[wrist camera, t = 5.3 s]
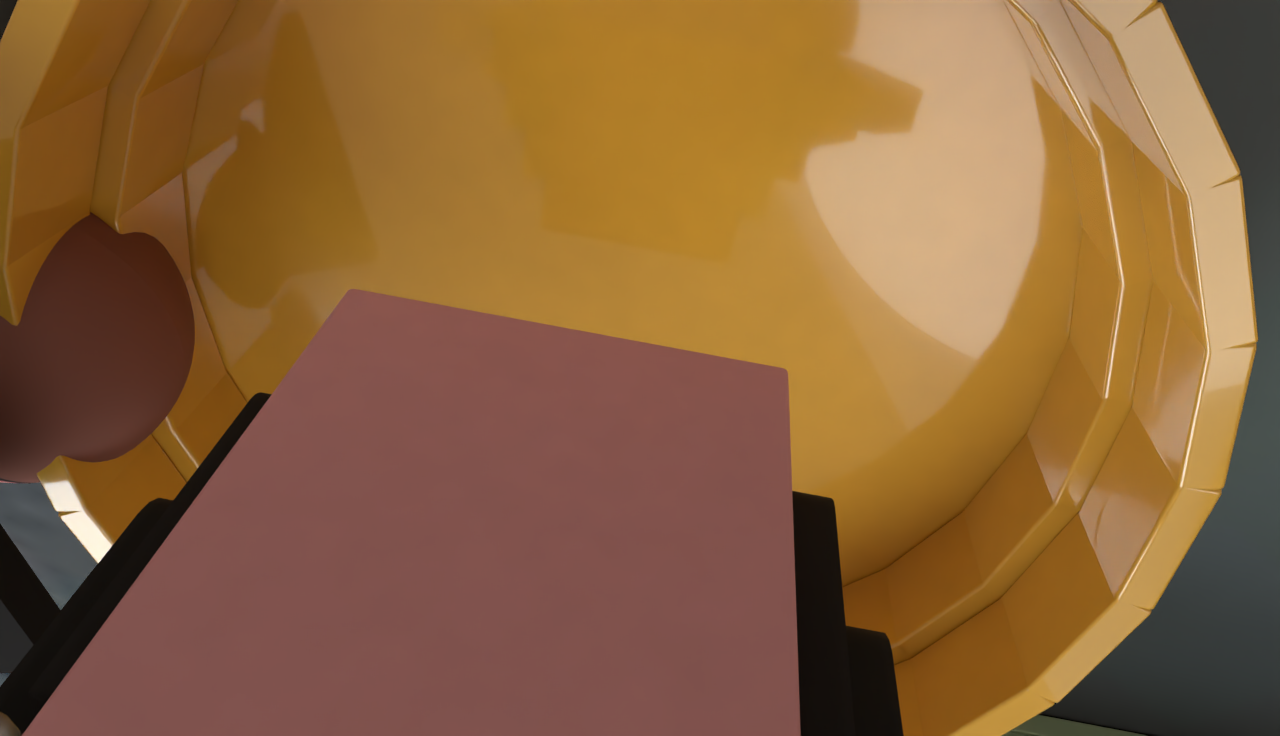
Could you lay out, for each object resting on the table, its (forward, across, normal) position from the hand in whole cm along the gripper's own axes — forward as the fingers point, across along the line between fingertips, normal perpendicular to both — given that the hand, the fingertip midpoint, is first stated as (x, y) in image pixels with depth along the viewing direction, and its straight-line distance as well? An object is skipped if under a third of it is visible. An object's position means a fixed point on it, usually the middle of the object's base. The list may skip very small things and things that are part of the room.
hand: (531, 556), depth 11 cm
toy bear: (+1, 0, 0) cm, 1 cm away
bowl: (+8, 0, +1) cm, 8 cm away
